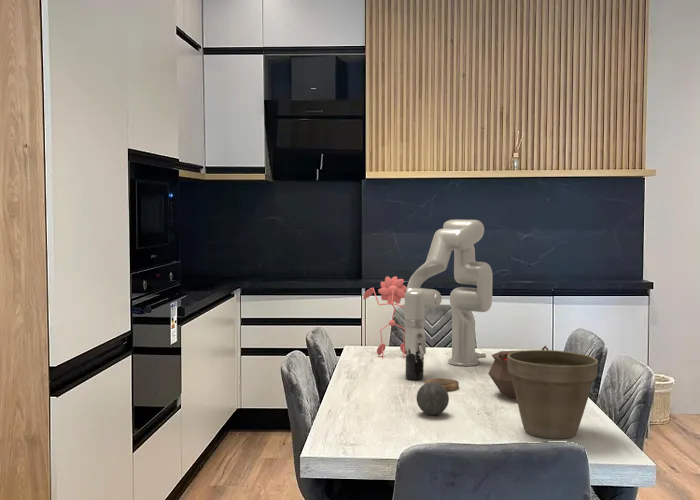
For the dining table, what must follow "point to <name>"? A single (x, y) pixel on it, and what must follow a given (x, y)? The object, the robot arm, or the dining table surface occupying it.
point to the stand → (445, 383)
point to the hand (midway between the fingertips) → (414, 370)
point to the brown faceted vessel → (503, 374)
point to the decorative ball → (432, 398)
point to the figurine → (390, 302)
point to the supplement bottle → (412, 368)
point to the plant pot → (551, 390)
